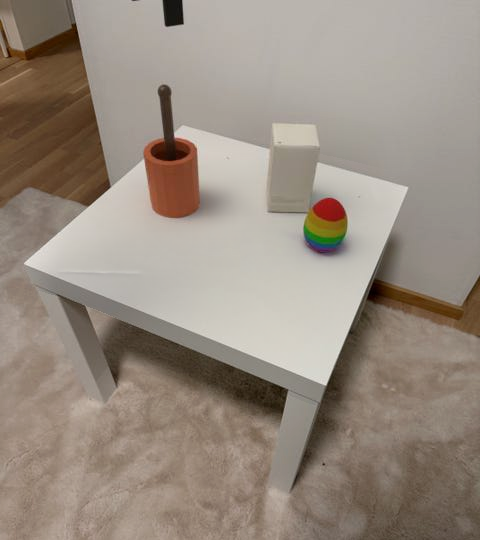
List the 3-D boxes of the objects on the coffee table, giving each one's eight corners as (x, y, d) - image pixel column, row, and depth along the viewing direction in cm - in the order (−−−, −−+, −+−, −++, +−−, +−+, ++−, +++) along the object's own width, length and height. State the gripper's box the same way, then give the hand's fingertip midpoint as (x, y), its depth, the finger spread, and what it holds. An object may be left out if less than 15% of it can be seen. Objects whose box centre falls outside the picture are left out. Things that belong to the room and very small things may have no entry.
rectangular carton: (309, 213, 93) (321, 146, 82) (266, 212, 93) (272, 145, 82) (306, 189, 99) (316, 123, 87) (266, 187, 99) (271, 121, 87)
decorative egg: (294, 247, 86) (300, 203, 78) (311, 225, 91) (319, 182, 83) (332, 262, 83) (343, 219, 76) (349, 239, 88) (360, 196, 80)
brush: (186, 201, 93) (177, 87, 76) (171, 206, 92) (158, 90, 74) (179, 193, 95) (169, 79, 78) (164, 197, 94) (150, 82, 76)
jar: (148, 217, 91) (139, 163, 82) (155, 188, 98) (147, 136, 88) (197, 218, 91) (194, 165, 82) (201, 190, 98) (198, 138, 89)
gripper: (72, -206, 57) (106, -8, 73) (143, -202, 43) (166, 41, 60) (127, -204, 60) (148, -12, 76) (211, -200, 46) (215, 33, 62)
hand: (156, 11), depth 68 cm, fingers open, 13 cm apart
